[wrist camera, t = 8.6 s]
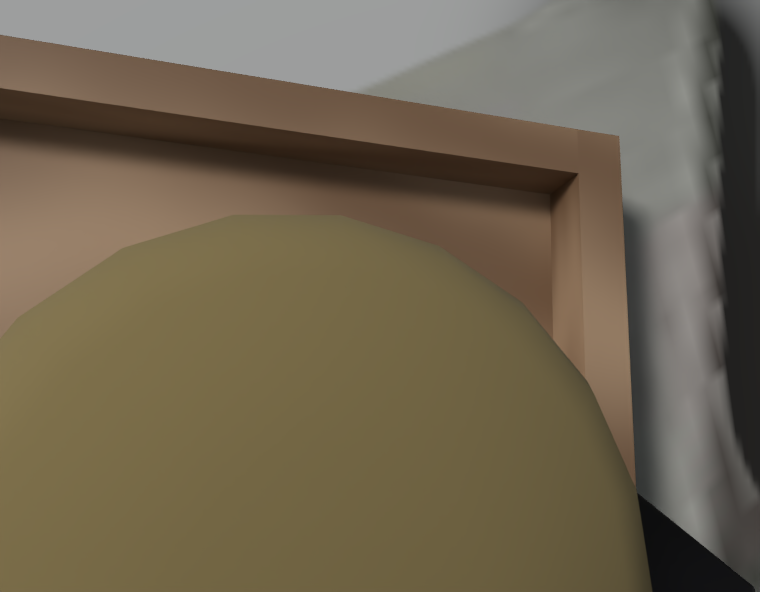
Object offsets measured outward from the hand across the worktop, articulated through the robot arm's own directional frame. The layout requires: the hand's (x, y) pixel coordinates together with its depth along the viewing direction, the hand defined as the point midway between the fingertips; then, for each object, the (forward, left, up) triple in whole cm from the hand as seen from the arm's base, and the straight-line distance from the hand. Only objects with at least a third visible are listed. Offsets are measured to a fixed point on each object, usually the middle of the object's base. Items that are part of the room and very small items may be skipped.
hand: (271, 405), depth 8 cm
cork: (-1, -1, -7) cm, 7 cm away
